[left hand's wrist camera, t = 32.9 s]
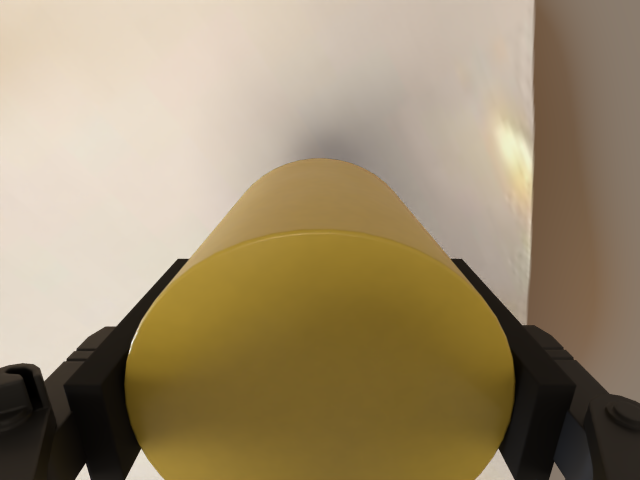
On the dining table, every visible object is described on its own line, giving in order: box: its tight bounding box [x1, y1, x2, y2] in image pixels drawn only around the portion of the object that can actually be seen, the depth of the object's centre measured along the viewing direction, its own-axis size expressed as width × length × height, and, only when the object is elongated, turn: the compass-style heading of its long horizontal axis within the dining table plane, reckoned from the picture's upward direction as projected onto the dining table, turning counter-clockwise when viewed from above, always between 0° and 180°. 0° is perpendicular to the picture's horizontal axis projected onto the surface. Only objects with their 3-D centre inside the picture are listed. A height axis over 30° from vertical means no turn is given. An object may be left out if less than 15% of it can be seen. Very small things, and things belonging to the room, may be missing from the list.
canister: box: [124, 158, 515, 480], centre depth 13 cm, size 9×9×10 cm
